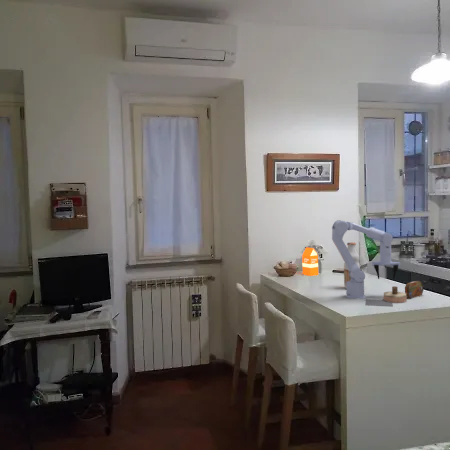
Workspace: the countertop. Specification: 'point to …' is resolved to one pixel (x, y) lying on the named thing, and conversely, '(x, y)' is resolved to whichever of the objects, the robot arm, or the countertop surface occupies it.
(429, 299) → the countertop surface
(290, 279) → the countertop surface
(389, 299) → the bowl
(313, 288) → the countertop surface
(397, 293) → the lid
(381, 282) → the countertop surface
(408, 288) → the tin
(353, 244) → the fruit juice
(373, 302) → the mat
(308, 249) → the orange juice
